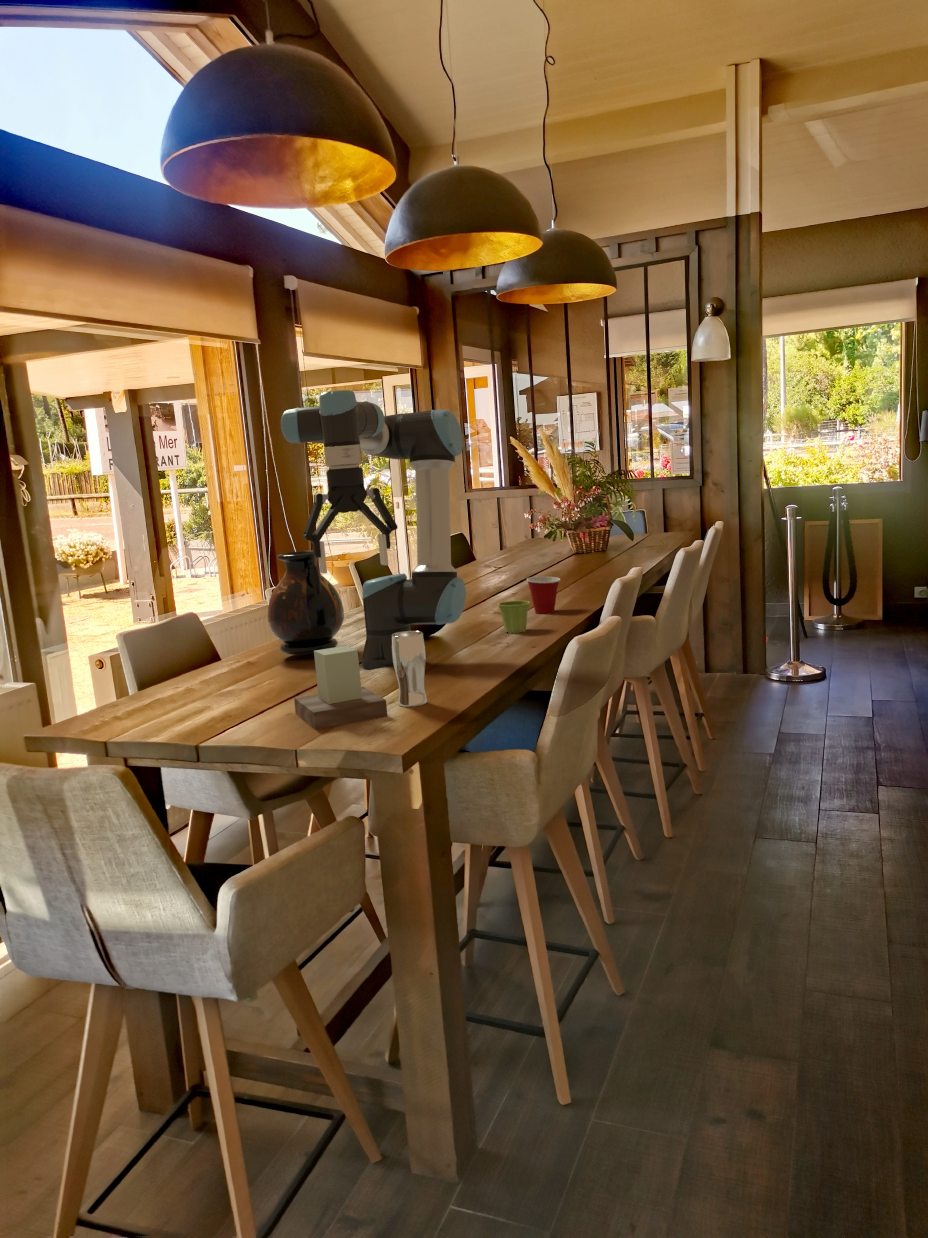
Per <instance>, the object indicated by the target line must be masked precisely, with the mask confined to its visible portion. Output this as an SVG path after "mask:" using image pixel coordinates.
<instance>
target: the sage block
mask: <svg viewBox="0 0 928 1238" xmlns="http://www.w3.org/2000/svg"><path fill="white" fill-rule="evenodd" d="M313 656H314V664H315V675H316V676H315V677H316V684H317V685H316V686H317V694H318V696H319V699H321V700H323V701H325V702H326V703H328V704H333V703H339V702H344V701H350V700H355V699H361V698H362V691H361V687H362V681H361V675H360V674H361V672H360V663H359V662H360V661H359V652H358V649H356V648H353V647H350V646H348V645H342V646H336V647H335V648H328V649H322V650H315V651H314V654H313Z"/></svg>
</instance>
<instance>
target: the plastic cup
mask: <svg viewBox="0 0 928 1238" xmlns="http://www.w3.org/2000/svg"><path fill="white" fill-rule="evenodd" d="M526 582H527V584H528V586H529V590H530V595H531V600H532V605H533V609H534V613H535V615H546V614H547V615H548V614H552V613H554V612H555V606H556V601H557V600H556V599H557V593H558V587H559V583H560V582H561V578H560V577H556V576H544V575H543V576H542V575H540V576H531V577H527V578H526Z"/></svg>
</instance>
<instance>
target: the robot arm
mask: <svg viewBox="0 0 928 1238" xmlns="http://www.w3.org/2000/svg"><path fill="white" fill-rule="evenodd" d="M318 401H319V406H307V407H296V408H292V409H287V410H285V411H284V412H283V413H282V415H281V419H280V429H281V432H282V436H283V438H284V439H285V440H286V441H287V442H288V443H290V444H300V445H301V444H305V443H312V444H323V453H324V463H325V466H326V468H328V469H327V471H325V472H326V481H327V493H325V494H323V493H318V492H317V493H314V494H313V505H312V508H311V511H310V513H309V516H308V519H307V522H306V524H305V527H304V530H303V533H302V536H301V537H302V539H303V540H306V541H310V542H311V544H312V545H311V546H312V551H313V555H314V557H316V558H318V559H317V560H318V565H319V567H318V569H319V572H320V574H328V568H327V566H328V565H327V557H326V551H325V550H326V549H325V547H326V546H325V541H321V540H322V538H323V537H324V535H325V534H326V532H327V530H328V529H329V527H330V526H331V524H332V522H333V521H334V520H335V518H336V516H338V515H339V514H340V513H341V514H346V513H349V512H351V513H354V512H357V513H358V511H359V513H362V515H364V516H365V518H366V519H367V520H368V521H370V523H371V524H373V526H374V527H375V528H377V530H378V531H380V533H379V534H378V533H377V538H378V549H379V562H380V565H382V566H389V556H388V549H389V550H390V549H391V546H392V545H391V536H390V534H391V533H392V532H393V531H395V530H396V531H397V530H398V525H397V522H396V521H395V518H393V516H392V513H390V511H389V509H388V508H387V506H386V504H385V502H384V501H383V499H382V496H381V492H380V489H379V488H378V487H371V488H370V489H365V488H366V487H365V480H364V469H363V468H362V467H360V465H361V464H362V463H363V461H362V453H363V454H365V455H368V456H374V457H379V458H383V459H389V460H390V459H391V460H399V461H400V460H409V466H410V467H411V468H412V469H413V470H414V472H415V503H416V504H415V506H416V509H415V510H416V513H415V514H416V515H415V517H416V553H417V554H416V555H417V556H416V557H417V558H416V560H417V561H416V563H417V565H416V566H415V568H414V569H413V570H412V571H411V578H409V579H408V576H407V575H406V573H396V574H395V573H394V574H390V575H386V576H381V577H377V578H372V579H369V580H366V581H364V583H363V585H362V598H361V600H362V603H363V604H362V605H363V614H364V615H363V616H364V624H365V635H366V636H365V637H366V638H365V642H364V646H363V651H362V655H361V666H362V667H363V668H364V669H368V670H376V669H377V670H379V669H384V668H389V667H390V668H391V667H394V664H393V658H392V634H394V633H398V632H404V631H412V630H411V625H437V626H439V625H440V626H441V625H445V624H447V625H449V624H453V623H454V624H455V622H457V621H458V620H459V619H460V617H461V616H462V614H463V612H464V609H465V604H466V599H467V597H466V596H467V591H466V590H467V588H466V587H465V586H466V585H465V584H466V583H465V581H464V579H462V578H461V577H459V576H458V571H457V569H456V568H455V567H454V566H453V564H452V553H451V552H452V549H451V543H452V542H451V498H450V496H451V495H450V491H451V490H450V487H451V486H450V470H451V469H452V468H453V467H454V466H455V465H456V457H459V456H460V455H461V454H462V452H463V449H464V440H463V433H462V428H461V425H460V423H459V421H458V419H457V417H456V416H455V414H454V413H453V412H452V411H451V410H448V409H431V410H423V411H415V412H407V413H397V414H396V413H395V414H389V415H385V414H384V411H383V410H382V408H381V407H380V406H379V405H378V404H376V403H373V402H371V401H370V402H369V401H368V400H367V401H366V400H365V401H357V399H356V394H355V392H354V391H353V390H350V389H343V390H340V389H339V390H328V391H324V392H322V393H321V394H319V399H318ZM367 498H369V499H370V500H372V502H373V504H374V506H375V508H376V509H377V511H378V513H379V514H380V516H381V517H382V520H383V521H384V522H383V521H382V520H381V519H380V518H379V517H378V515H377V514H375V512H373V511H372V510H371V509H370V507H369V506H368V504H366V502H365V500H366V499H367ZM326 501H328V502H329V504H330V506H329V508H328V510H327V511H326V514H325V515H324V517H323V519H322V521H321V522H320V524H319V525H318V527H317V528H316V526H317V523H318V520H319V518H320V515H321V512H322V509H323V505H324V504H326ZM315 528H316V529H315Z"/></svg>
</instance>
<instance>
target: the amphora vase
mask: <svg viewBox="0 0 928 1238" xmlns="http://www.w3.org/2000/svg"><path fill="white" fill-rule="evenodd" d="M276 557H277V560H278V561H282V562H283V563H284V568H285V569H284V570H285V572H284V575H283V577H282V578H281V579H280V580H279V583H278V584H277V585H276V587H275V588H274V589H273V590H272V593H271V595H270V598H269V602H268V605H267V606H268V607H267V622H268V626H269V628H270V630H271V631H270V632H272V634H274V636H275V637H276V638H277V639H278V640H280V641H281V642H282V644H280V646H279V650H280V652H282V654H283V653H284V654H286V655H297V656H298V655H300V656H302V655H314V651H315V650H322V649H328V648H335V647H338V645H339V643H338V642H339V641H338V640H337V639H336V638H335V636H336V635H337V634H338V632H339V631H340V630H341V628H342V625H343V623H344V619H345V613H344V612H345V611H344V606H343V602H342V599H341V597H340V595H339V593H338V591H337V590H336V588H335V587H334V585H333V584H332V583H331V582H330V581H329V580H328V579H327V578H326V577H325V576H324V575H322V573H320V569H319V567H318V564H317V563H318V560H319V559H318V558H316V557H314V555H313V550H301V551H291V552H283V553H280V554H278V555H277V556H276Z"/></svg>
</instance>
